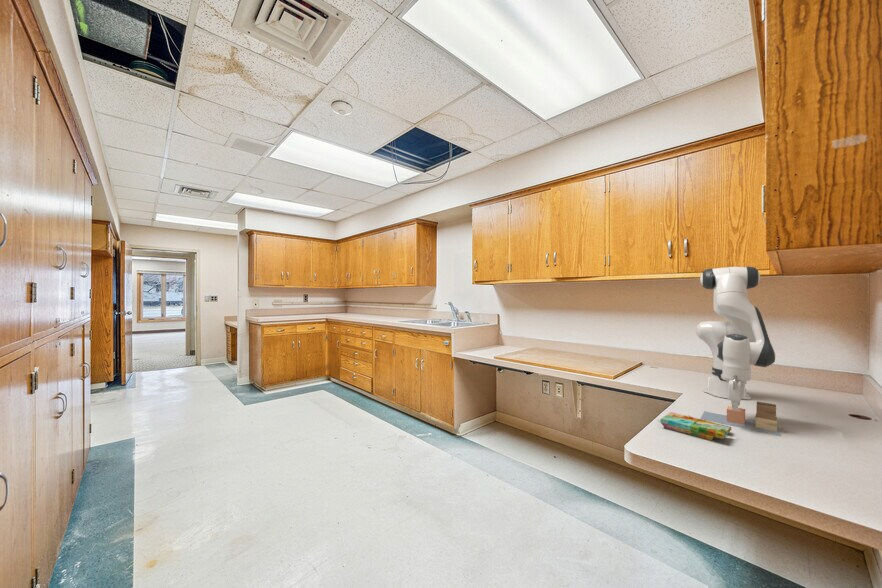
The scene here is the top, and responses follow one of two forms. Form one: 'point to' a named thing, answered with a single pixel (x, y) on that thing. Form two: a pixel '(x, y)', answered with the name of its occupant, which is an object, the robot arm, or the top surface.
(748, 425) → the baseplate
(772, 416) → the walnut block
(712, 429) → the puzzle game
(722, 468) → the top surface
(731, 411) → the terracotta block
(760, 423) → the oak brick
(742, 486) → the top surface
